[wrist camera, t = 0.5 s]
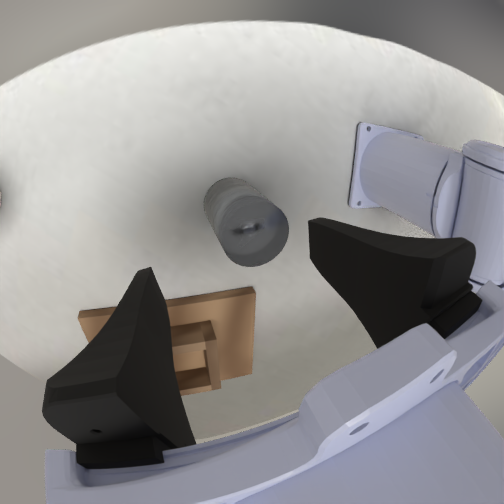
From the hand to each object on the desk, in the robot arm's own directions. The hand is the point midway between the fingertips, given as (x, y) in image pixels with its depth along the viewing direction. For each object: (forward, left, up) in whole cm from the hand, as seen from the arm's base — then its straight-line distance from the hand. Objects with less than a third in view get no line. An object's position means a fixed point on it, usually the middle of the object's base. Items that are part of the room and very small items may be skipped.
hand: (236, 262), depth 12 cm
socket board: (+4, +15, -9) cm, 18 cm away
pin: (-2, +1, -9) cm, 10 cm away
